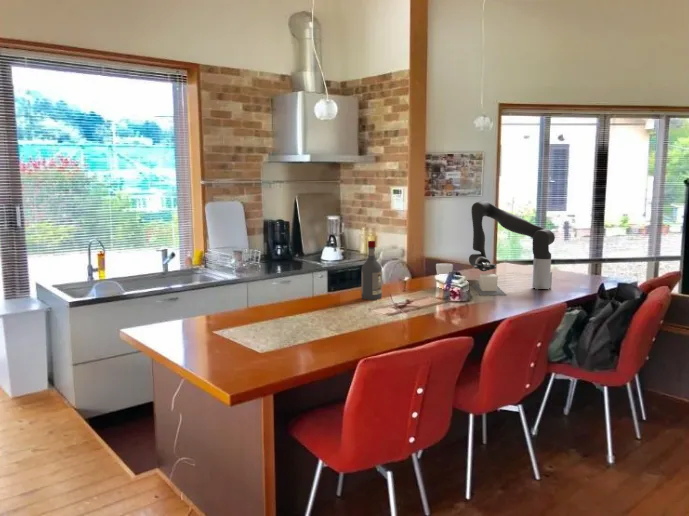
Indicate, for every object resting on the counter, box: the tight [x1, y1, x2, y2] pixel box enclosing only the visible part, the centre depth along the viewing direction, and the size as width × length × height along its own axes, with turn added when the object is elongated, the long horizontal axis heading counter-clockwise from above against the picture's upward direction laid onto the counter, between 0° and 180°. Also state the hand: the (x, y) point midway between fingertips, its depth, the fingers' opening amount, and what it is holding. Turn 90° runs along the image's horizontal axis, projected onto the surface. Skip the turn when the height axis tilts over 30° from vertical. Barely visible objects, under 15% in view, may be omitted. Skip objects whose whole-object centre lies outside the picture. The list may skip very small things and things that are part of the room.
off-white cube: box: [479, 273, 499, 291], centre depth 323 cm, size 8×8×8 cm
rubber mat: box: [471, 284, 507, 296], centre depth 323 cm, size 28×14×1 cm, turn 177°
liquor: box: [360, 240, 383, 301], centre depth 302 cm, size 9×9×30 cm
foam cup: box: [435, 263, 454, 276], centre depth 332 cm, size 10×9×13 cm
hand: (488, 268), depth 324 cm, fingers closed
